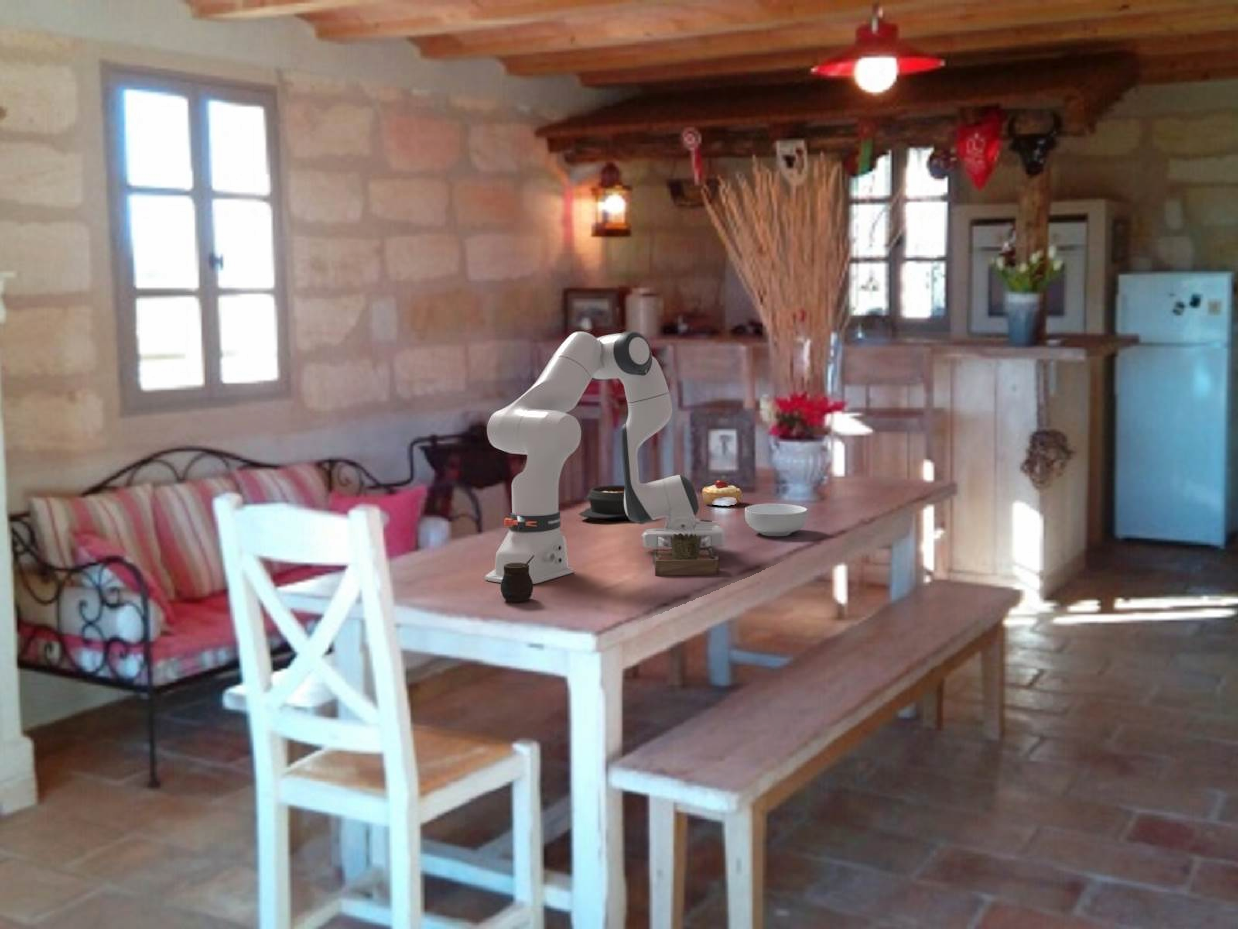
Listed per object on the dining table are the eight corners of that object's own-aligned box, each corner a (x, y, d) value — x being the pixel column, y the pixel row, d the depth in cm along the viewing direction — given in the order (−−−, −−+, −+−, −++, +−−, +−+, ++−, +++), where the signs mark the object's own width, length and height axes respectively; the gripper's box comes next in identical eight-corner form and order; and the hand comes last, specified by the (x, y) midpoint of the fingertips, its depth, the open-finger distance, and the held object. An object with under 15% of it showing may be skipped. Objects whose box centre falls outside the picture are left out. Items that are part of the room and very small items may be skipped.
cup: (691, 572, 334) (691, 539, 332) (664, 569, 337) (664, 537, 336) (706, 567, 340) (706, 534, 339) (680, 564, 344) (679, 531, 343)
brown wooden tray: (719, 574, 331) (718, 560, 331) (655, 575, 331) (655, 560, 331) (711, 548, 362) (711, 535, 362) (653, 549, 362) (653, 536, 362)
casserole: (613, 526, 396) (613, 497, 395) (564, 520, 408) (563, 491, 407) (667, 514, 416) (667, 485, 415) (618, 508, 427) (618, 480, 426)
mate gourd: (498, 598, 311) (497, 553, 310) (532, 595, 313) (531, 551, 312) (503, 605, 304) (501, 559, 303) (537, 602, 306) (536, 557, 305)
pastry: (697, 507, 427) (696, 478, 426) (708, 501, 438) (708, 472, 437) (735, 508, 423) (735, 479, 421) (746, 502, 434) (745, 474, 432)
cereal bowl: (777, 542, 369) (777, 515, 369) (732, 534, 382) (731, 508, 381) (820, 533, 381) (820, 507, 380) (774, 526, 393) (774, 501, 392)
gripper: (641, 521, 355) (641, 531, 341) (722, 520, 355) (726, 530, 341) (641, 546, 356) (642, 557, 342) (722, 545, 356) (726, 556, 342)
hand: (684, 544), depth 342 cm, fingers open, 8 cm apart
